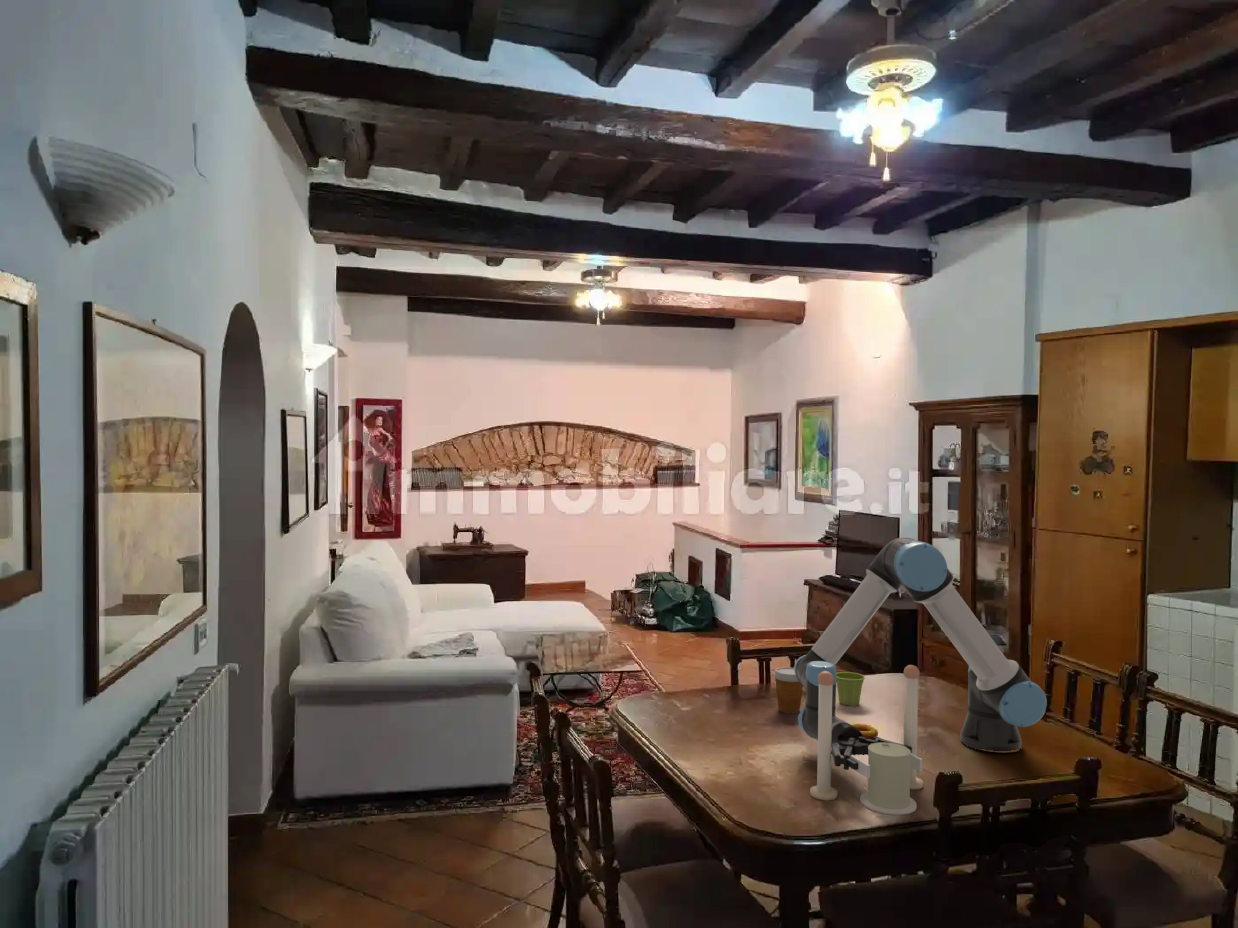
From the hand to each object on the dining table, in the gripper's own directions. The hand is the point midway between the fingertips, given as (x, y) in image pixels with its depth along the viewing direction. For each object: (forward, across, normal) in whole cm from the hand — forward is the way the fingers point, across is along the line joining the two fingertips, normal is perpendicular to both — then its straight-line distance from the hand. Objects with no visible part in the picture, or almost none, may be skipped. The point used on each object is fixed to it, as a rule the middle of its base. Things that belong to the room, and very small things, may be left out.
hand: (895, 768), depth 187 cm
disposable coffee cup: (-69, -13, -9) cm, 71 cm away
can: (-2, 0, -8) cm, 9 cm away
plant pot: (-71, -35, -9) cm, 80 cm away
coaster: (-2, 0, -9) cm, 9 cm away
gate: (-10, 0, -9) cm, 13 cm away
